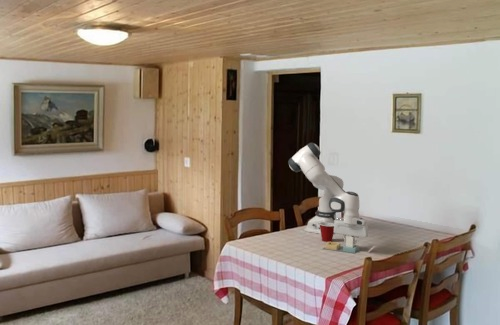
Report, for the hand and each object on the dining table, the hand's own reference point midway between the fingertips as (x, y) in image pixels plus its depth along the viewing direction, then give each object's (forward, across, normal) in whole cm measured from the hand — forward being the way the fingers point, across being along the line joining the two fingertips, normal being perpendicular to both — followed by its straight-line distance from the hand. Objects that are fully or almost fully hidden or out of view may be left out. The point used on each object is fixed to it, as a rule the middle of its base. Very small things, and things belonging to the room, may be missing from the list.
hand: (350, 242), depth 304 cm
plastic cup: (+6, -19, +14) cm, 25 cm away
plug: (+4, 0, 0) cm, 4 cm away
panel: (+6, -5, 0) cm, 8 cm away
